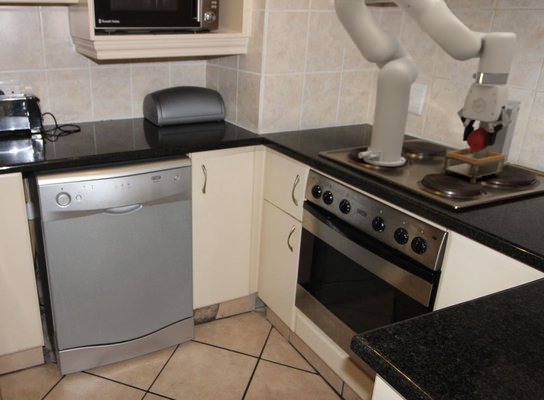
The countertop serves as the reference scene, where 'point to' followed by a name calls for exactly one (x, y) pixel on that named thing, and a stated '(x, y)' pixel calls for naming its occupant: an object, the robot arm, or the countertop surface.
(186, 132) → the countertop surface
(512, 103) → the hard drive box
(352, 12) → the robot arm
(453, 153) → the rack
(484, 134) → the onion
